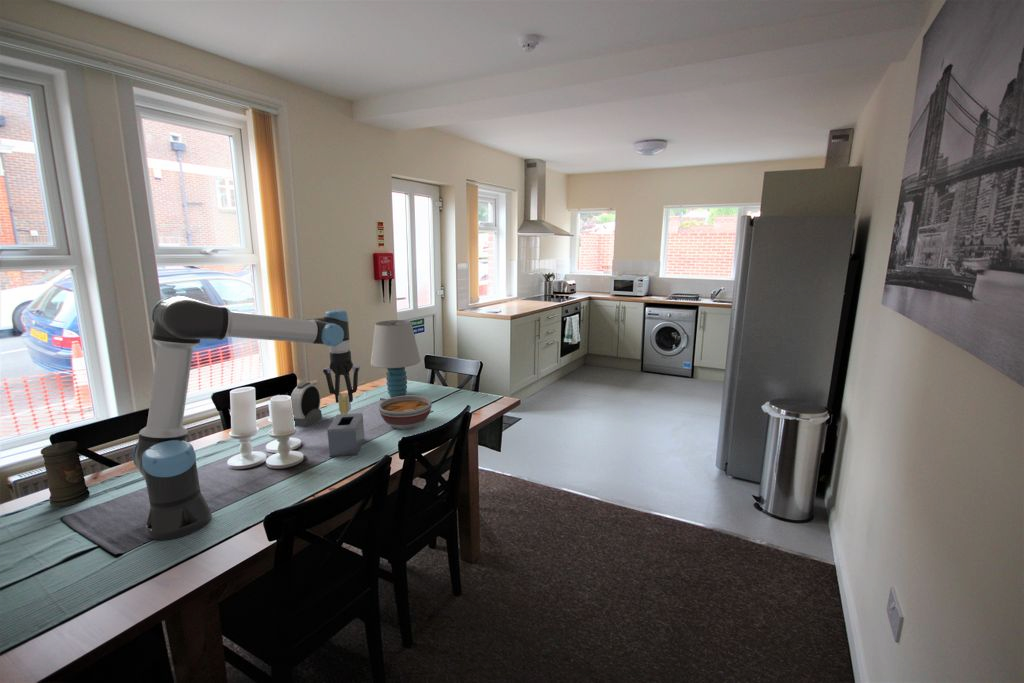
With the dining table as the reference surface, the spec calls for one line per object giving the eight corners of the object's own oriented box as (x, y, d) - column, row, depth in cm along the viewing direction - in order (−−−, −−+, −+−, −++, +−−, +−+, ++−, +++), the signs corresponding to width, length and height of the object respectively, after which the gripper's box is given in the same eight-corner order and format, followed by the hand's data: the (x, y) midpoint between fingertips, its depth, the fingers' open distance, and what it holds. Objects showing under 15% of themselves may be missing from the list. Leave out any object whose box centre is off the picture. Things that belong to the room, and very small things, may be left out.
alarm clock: (307, 428, 203) (303, 388, 199) (286, 427, 204) (281, 387, 201) (327, 415, 218) (324, 378, 215) (307, 414, 220) (303, 377, 216)
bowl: (437, 429, 200) (436, 407, 198) (383, 438, 192) (381, 415, 190) (426, 412, 221) (426, 392, 219) (377, 419, 213) (375, 398, 211)
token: (347, 413, 178) (345, 397, 176) (340, 414, 177) (339, 397, 176) (350, 408, 184) (348, 392, 182) (343, 408, 183) (342, 392, 182)
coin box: (364, 438, 192) (362, 413, 190) (357, 455, 176) (355, 427, 174) (339, 439, 191) (337, 414, 188) (329, 457, 175) (327, 429, 173)
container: (43, 509, 141) (30, 454, 138) (62, 494, 150) (51, 442, 146) (79, 504, 143) (67, 450, 140) (96, 490, 152) (85, 438, 148)
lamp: (407, 385, 265) (404, 317, 257) (430, 396, 246) (427, 322, 238) (365, 394, 249) (359, 322, 241) (385, 406, 230) (380, 328, 222)
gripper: (362, 348, 180) (367, 405, 185) (321, 349, 178) (326, 407, 183) (359, 352, 173) (364, 412, 178) (315, 354, 171) (321, 414, 176)
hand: (345, 409), depth 180 cm, fingers closed on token, 2 cm apart
